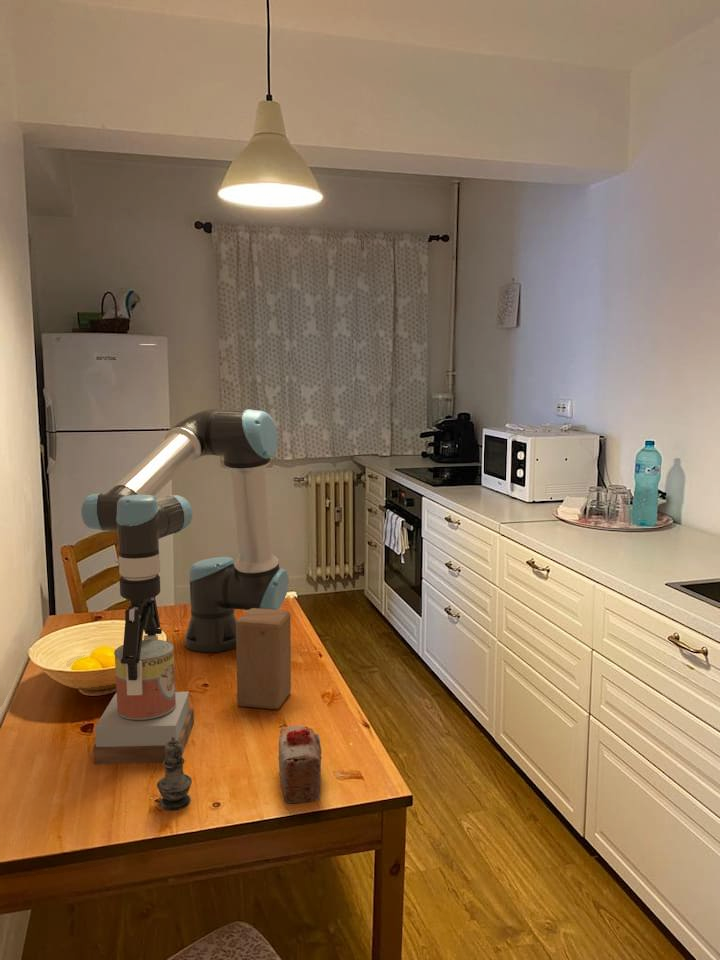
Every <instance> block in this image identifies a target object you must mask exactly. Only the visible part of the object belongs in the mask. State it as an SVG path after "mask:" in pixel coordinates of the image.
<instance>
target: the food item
mask: <svg viewBox="0 0 720 960" xmlns="http://www.w3.org/2000/svg"><path fill="white" fill-rule="evenodd" d="M280 728H281V729H280V732H279V738H278V758H277V759H278V768H279V775H280V781H281V787H282V792H283V796H284V798H285V801H286V802H287V803H289V804H298V803H305V802H316V801H318V800H320V797H321V793H322V791H321V790H322V789H321V786H322V785H321V783H322V782H321V781H322V778H321V777H322V776H321V775H322V774H321V773H322V758H323V757H322V746H321V738H320V735H319V734H318V733H315V732H314V731H315V730H314V729H313V728H312V727H309V726H305V725H299V724H298V725H297V724H296V725H295V724H294V725H290V726H287V727H286V726H285V727H280Z"/></svg>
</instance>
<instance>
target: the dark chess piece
mask: <svg viewBox="0 0 720 960" xmlns="http://www.w3.org/2000/svg"><path fill="white" fill-rule="evenodd" d="M171 740H172V741H169V742H168V743H167V744H166V745H165V760H164V762H163V763H162V764H163V766H164V768H165V769H164V771H165V773H164V776H163V777H161V778H160V779H159V780H158V781H157V783H156V788H157V789H158V792H159V793H160V796H161V797H162V798H161V799H160V800H159V807H160V808H161V809H162V810H164V811H174V812H175V811H179V810H182V809H184V808H186V807H188V806H189V805H190V803H191V801H192V799H191V796H190V795H189V794H188V793H189V790H190V788H191V785H192V783H193V779H192V778H191V776H189V775H188V774H186V773H184V768H183V767H184V766H183V765H184V763H185V759H184V758H183V754H182V745H181V743H180V742H179V741H176V740H175V738H174V737H172V738H171Z"/></svg>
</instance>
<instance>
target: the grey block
mask: <svg viewBox="0 0 720 960" xmlns="http://www.w3.org/2000/svg"><path fill="white" fill-rule="evenodd" d="M175 700H176V707H175V708H174V709H173V710H172V711H171V712H169V713H167V714H165V715H163V716H160V717H157V718H152V719H145V720H131V719H126V718H123V717H121V716H120V715H118V713H117V692H115V694H114V695H113V697H112V698H111V700H110V702H109V703H108V705H107V706H106V709H105V710H104V711H103V713H102V715H101V717H100V718H99V720H97V722H96V725H95V727H94V733H95V734H94V735H95V736H94V737H95V744H96V747H120V746H165V745H166V744H167V743H168V742H169V741H172V740H171V738H172V737H174V738H175V740H176V741H178V740H179V737H180V734H181V731H182V729H183V726H184V723H185V720H186V718H187V715H188V712H189V708H190V691H175Z"/></svg>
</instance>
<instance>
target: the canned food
mask: <svg viewBox="0 0 720 960" xmlns="http://www.w3.org/2000/svg"><path fill="white" fill-rule="evenodd" d="M174 649H175V645H174V644H173V643H172V642H170V641H167V640H163V639H158V640H144V639H142V646H141V653H140V661H141V665H142V690H143V694H142V695H127V681H126V664H122V663H121V659H122V655H123V645H119V646H118V647H117V648H116V649H115V650H114V651H113V654H114V665H115V685H116V693H117V713H118V715H120V716H121V717H123V718H126V719H131V720H145V719H152V718H157V717H160V716H163V715H165V714H167V713H169V712H171V711H172V710H173V709H174V708H175V707H176V700H175V692H176V682H175V681H176V679H175V678H176V677H175V656H174V655H175V654H174V653H175V652H174ZM129 657H133V656H129Z"/></svg>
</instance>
